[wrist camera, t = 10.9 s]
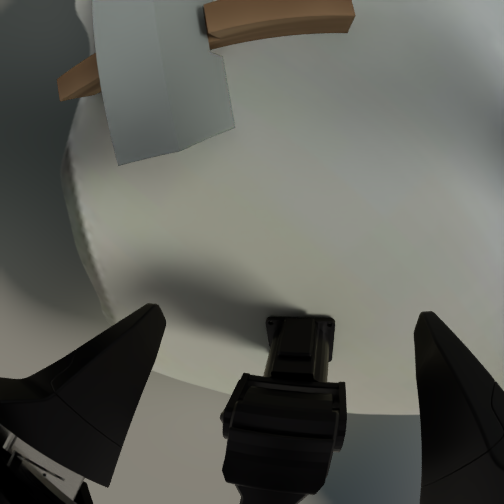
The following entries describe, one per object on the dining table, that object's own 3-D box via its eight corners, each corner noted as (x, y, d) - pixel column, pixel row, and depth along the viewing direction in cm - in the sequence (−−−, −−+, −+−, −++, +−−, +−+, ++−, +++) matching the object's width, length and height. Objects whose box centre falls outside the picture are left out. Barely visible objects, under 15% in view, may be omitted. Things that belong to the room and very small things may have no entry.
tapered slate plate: (235, 127, 17) (179, 151, 10) (188, 136, 18) (118, 165, 11) (205, -37, 10) (147, -81, 3) (162, -21, 11) (92, -50, 4)
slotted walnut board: (347, 32, 12) (355, 15, 8) (94, 95, 17) (60, 101, 14) (341, 7, 11) (347, -15, 7) (90, 75, 16) (56, 79, 13)
